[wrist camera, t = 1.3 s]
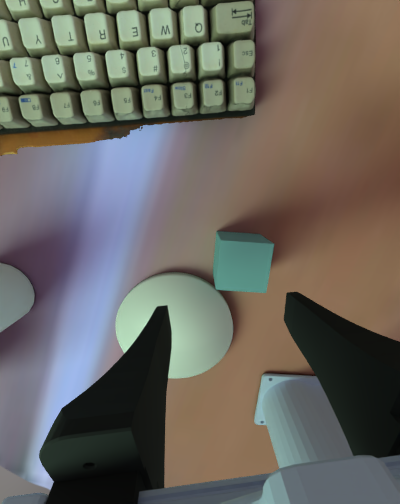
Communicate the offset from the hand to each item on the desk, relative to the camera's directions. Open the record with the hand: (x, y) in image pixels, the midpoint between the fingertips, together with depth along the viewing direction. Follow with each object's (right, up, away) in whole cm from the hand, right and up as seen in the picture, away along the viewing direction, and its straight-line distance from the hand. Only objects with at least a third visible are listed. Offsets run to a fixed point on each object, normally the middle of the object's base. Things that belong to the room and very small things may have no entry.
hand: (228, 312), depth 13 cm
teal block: (+2, +3, +10) cm, 11 cm away
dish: (-4, -5, +12) cm, 14 cm away
